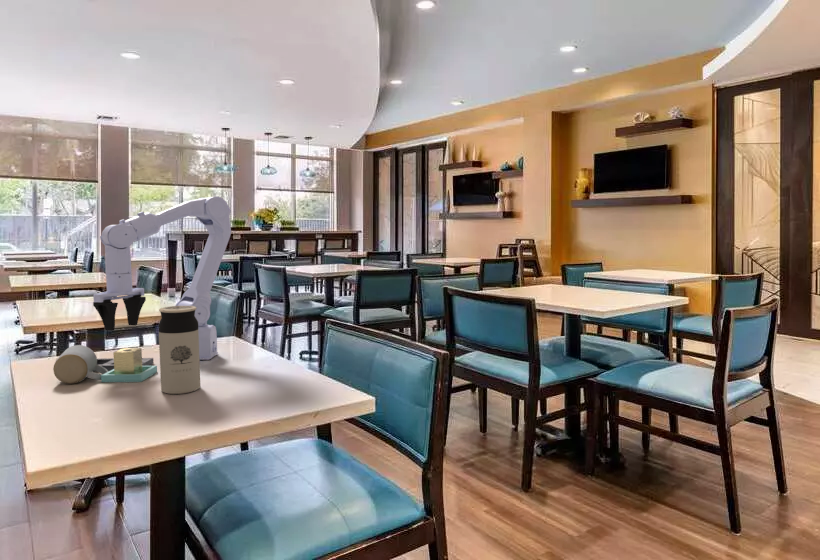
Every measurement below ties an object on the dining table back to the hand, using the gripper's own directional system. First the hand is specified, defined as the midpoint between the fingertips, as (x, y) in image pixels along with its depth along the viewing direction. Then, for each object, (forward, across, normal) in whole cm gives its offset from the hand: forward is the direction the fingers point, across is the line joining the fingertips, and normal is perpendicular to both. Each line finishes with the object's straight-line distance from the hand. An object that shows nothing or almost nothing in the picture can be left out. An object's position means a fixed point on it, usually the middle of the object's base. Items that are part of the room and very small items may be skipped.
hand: (121, 327), depth 144 cm
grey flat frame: (+10, 0, +4) cm, 11 cm away
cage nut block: (+10, -6, -8) cm, 14 cm away
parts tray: (+10, -6, -8) cm, 14 cm away
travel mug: (+11, -12, -26) cm, 31 cm away
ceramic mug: (+11, -12, +1) cm, 16 cm away
